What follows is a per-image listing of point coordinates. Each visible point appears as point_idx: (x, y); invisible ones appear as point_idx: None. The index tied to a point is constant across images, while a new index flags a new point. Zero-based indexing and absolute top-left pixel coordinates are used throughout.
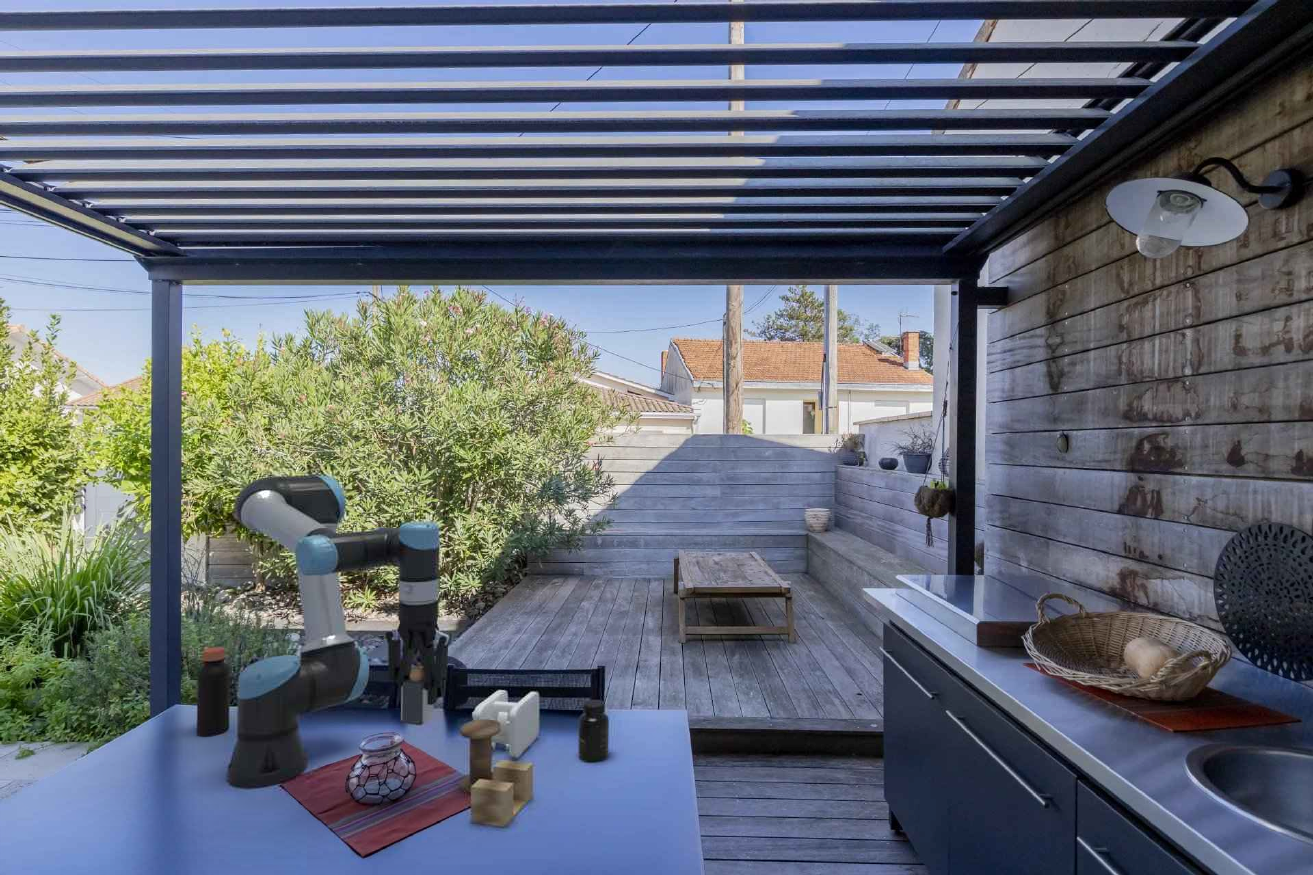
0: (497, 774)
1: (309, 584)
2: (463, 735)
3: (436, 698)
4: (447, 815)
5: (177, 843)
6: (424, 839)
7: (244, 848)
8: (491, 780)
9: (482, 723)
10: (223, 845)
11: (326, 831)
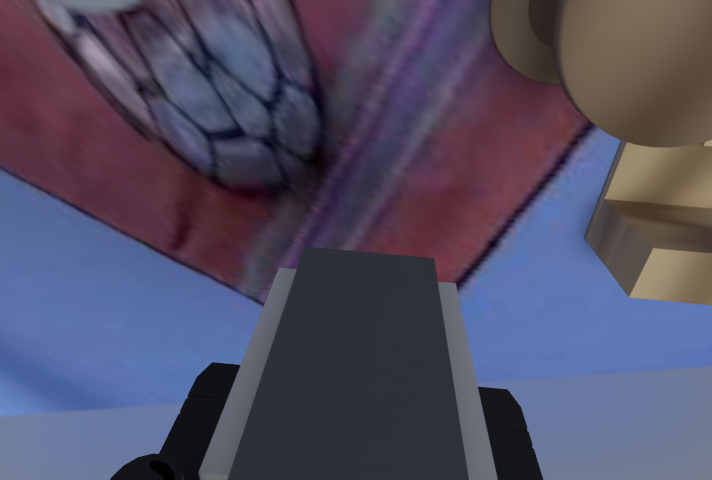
0: None
1: None
2: (587, 119)
3: (522, 422)
4: (506, 214)
5: (29, 366)
6: (486, 311)
7: (154, 367)
8: (701, 253)
9: None
10: (110, 364)
11: (253, 309)
